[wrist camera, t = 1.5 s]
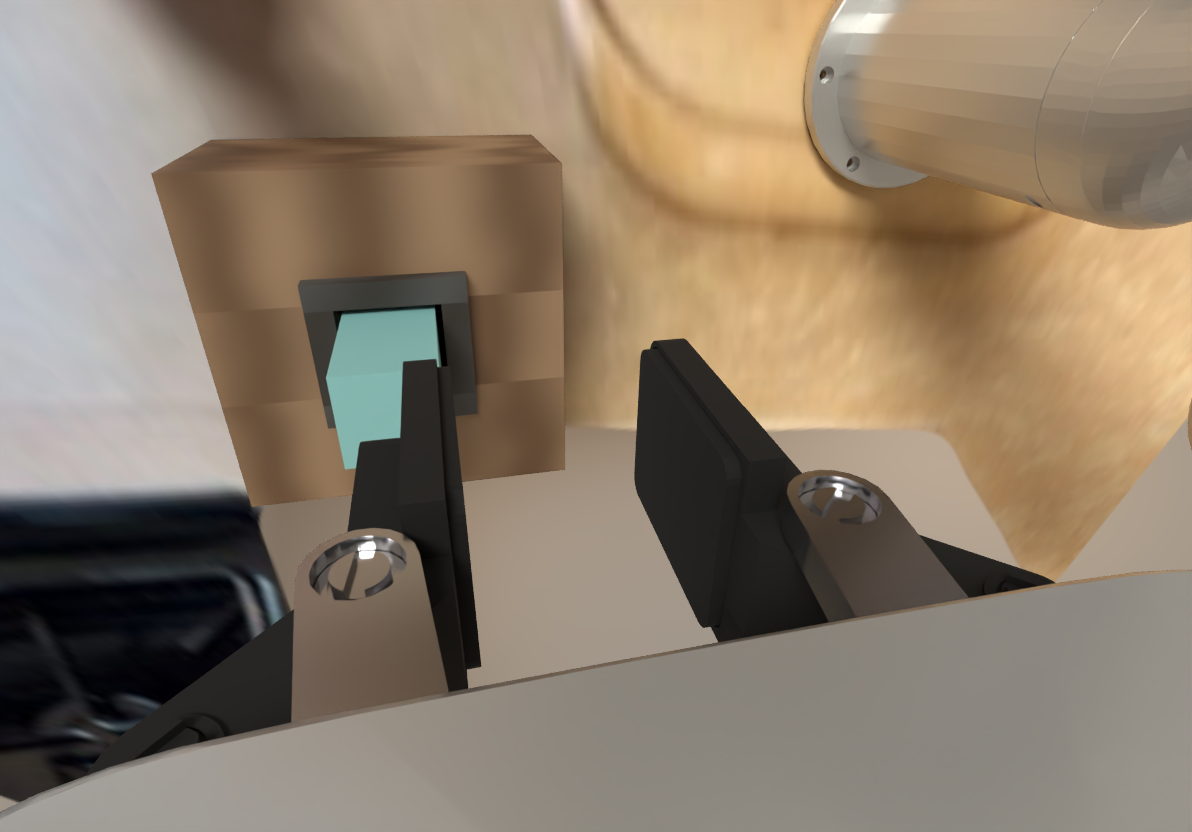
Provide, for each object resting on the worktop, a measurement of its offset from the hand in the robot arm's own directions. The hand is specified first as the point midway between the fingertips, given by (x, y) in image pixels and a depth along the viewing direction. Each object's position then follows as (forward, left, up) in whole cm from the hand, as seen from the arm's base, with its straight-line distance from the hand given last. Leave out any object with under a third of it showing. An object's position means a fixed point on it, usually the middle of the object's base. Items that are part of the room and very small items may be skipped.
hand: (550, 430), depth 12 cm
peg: (+4, +7, -23) cm, 25 cm away
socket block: (+4, +7, -29) cm, 30 cm away
